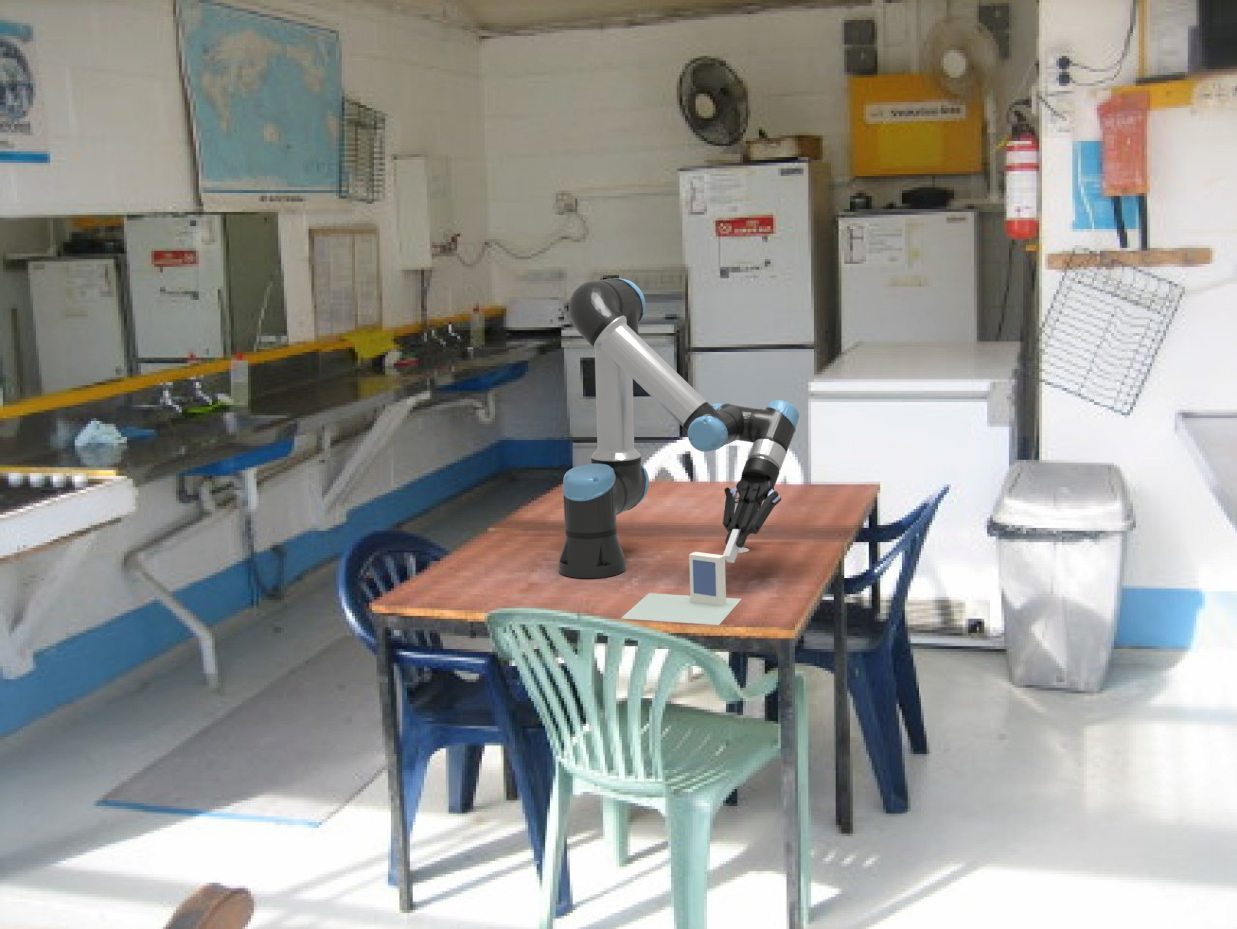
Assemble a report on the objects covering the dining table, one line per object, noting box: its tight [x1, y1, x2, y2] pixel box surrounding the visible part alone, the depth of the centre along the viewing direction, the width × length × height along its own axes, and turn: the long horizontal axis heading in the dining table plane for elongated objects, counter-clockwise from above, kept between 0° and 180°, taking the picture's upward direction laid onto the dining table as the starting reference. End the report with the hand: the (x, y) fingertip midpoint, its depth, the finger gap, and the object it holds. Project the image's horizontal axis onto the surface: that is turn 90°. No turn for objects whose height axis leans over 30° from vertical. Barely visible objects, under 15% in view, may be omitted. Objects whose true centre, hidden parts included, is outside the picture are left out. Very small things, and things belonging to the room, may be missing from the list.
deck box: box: [688, 551, 727, 606], centre depth 270 cm, size 2×7×10 cm, turn 55°
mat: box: [620, 592, 742, 626], centre depth 267 cm, size 20×18×1 cm
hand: (728, 559), depth 275 cm, fingers closed
